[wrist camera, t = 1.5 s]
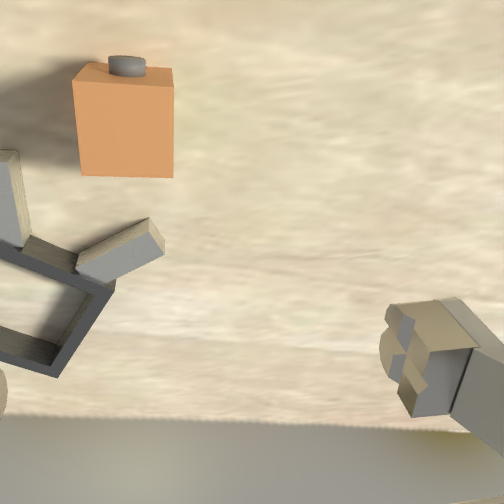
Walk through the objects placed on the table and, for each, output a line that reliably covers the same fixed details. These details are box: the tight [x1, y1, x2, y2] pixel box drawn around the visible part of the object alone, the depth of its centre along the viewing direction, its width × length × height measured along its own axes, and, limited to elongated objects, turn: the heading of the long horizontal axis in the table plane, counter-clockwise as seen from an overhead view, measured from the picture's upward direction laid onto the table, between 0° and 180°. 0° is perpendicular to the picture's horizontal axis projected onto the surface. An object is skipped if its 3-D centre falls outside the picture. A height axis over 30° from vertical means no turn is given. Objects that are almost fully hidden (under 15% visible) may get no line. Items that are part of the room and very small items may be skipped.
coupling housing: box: [0, 150, 165, 378], centre depth 32 cm, size 13×16×2 cm
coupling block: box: [72, 56, 174, 178], centre depth 26 cm, size 5×7×6 cm
